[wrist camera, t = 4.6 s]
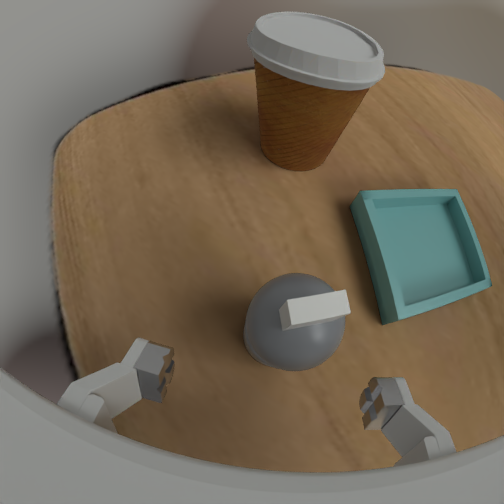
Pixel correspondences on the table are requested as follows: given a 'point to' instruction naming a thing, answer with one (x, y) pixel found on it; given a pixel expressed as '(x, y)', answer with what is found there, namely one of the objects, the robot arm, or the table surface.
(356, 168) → the table surface
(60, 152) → the table surface
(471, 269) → the tray
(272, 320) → the gray bottle
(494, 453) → the robot arm
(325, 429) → the table surface
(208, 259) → the table surface
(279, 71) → the disposable coffee cup
